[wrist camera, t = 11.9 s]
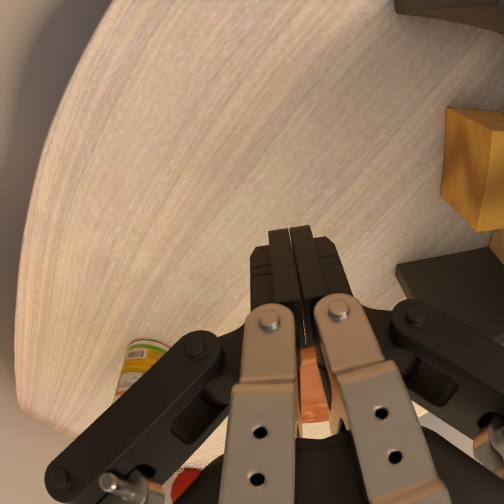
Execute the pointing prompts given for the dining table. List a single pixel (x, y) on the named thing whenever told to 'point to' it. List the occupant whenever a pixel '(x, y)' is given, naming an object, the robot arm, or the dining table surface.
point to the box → (475, 167)
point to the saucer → (311, 389)
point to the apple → (183, 482)
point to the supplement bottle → (138, 363)
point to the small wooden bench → (500, 250)
